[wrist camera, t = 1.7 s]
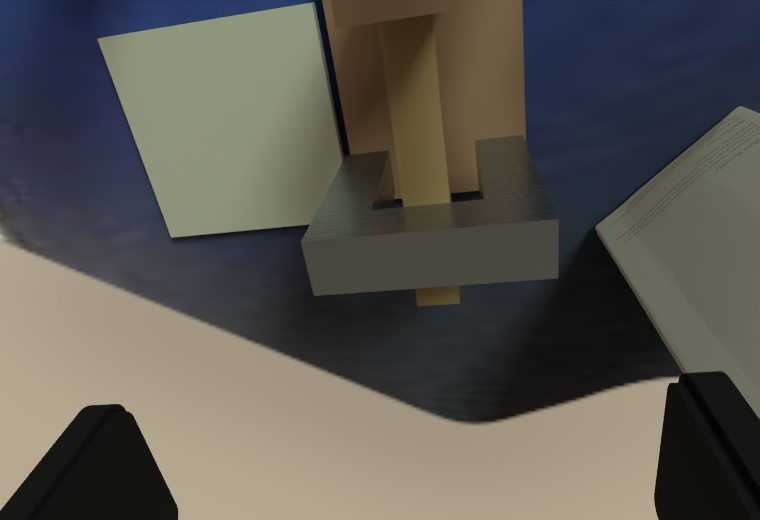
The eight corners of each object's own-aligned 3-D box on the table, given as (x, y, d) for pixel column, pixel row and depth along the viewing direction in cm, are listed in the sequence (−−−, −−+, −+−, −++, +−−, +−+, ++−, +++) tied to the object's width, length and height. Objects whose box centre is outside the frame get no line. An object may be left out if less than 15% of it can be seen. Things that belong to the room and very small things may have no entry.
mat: (314, 2, 23) (311, 3, 22) (355, 215, 28) (353, 220, 27) (104, 37, 25) (97, 38, 24) (176, 232, 29) (171, 237, 29)
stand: (516, -123, 20) (605, -228, 9) (524, 183, 26) (584, 356, 15) (311, -83, 21) (160, -130, 10) (362, 200, 27) (301, 370, 16)
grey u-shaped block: (522, 134, 21) (558, 219, 14) (523, 178, 22) (558, 278, 15) (345, 154, 22) (300, 241, 15) (353, 195, 23) (313, 295, 16)
